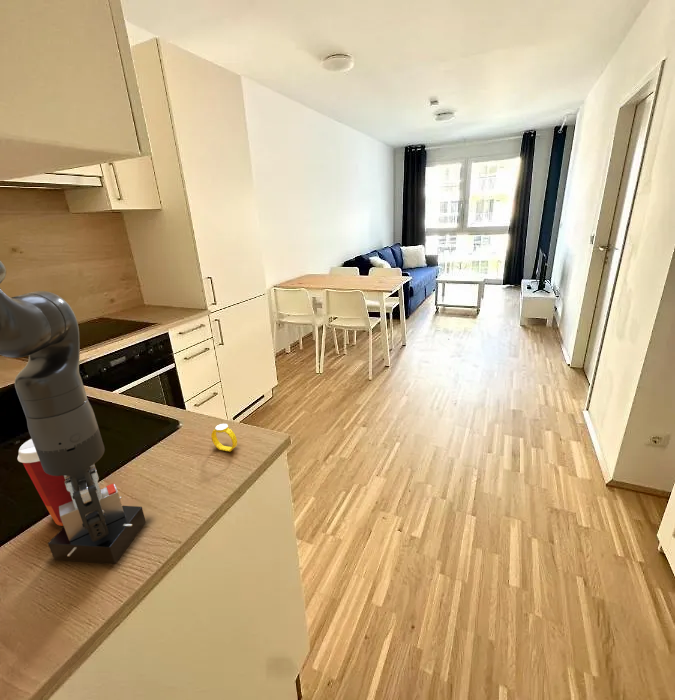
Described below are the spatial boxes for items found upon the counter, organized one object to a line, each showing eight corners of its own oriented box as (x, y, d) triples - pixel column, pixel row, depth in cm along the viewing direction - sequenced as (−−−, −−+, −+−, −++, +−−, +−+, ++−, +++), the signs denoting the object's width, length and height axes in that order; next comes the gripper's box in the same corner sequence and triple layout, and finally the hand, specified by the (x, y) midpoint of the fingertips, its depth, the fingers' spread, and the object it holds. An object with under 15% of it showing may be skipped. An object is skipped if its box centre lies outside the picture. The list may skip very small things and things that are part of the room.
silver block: (69, 542, 54) (59, 515, 52) (68, 531, 56) (58, 505, 54) (125, 516, 59) (117, 490, 57) (121, 507, 60) (114, 482, 59)
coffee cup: (112, 496, 67) (87, 426, 63) (77, 531, 60) (46, 454, 55) (72, 496, 68) (45, 427, 64) (33, 530, 61) (-1, 455, 56)
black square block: (39, 571, 54) (31, 553, 52) (95, 511, 65) (89, 494, 63) (112, 576, 53) (106, 558, 51) (156, 514, 63) (152, 497, 62)
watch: (240, 448, 81) (237, 425, 79) (233, 455, 79) (229, 432, 77) (219, 443, 83) (215, 421, 81) (211, 450, 81) (207, 427, 79)
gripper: (32, 422, 54) (63, 506, 60) (35, 469, 44) (72, 565, 50) (90, 406, 59) (114, 486, 64) (105, 445, 48) (132, 535, 54)
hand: (96, 520), depth 57 cm, fingers open, 8 cm apart
